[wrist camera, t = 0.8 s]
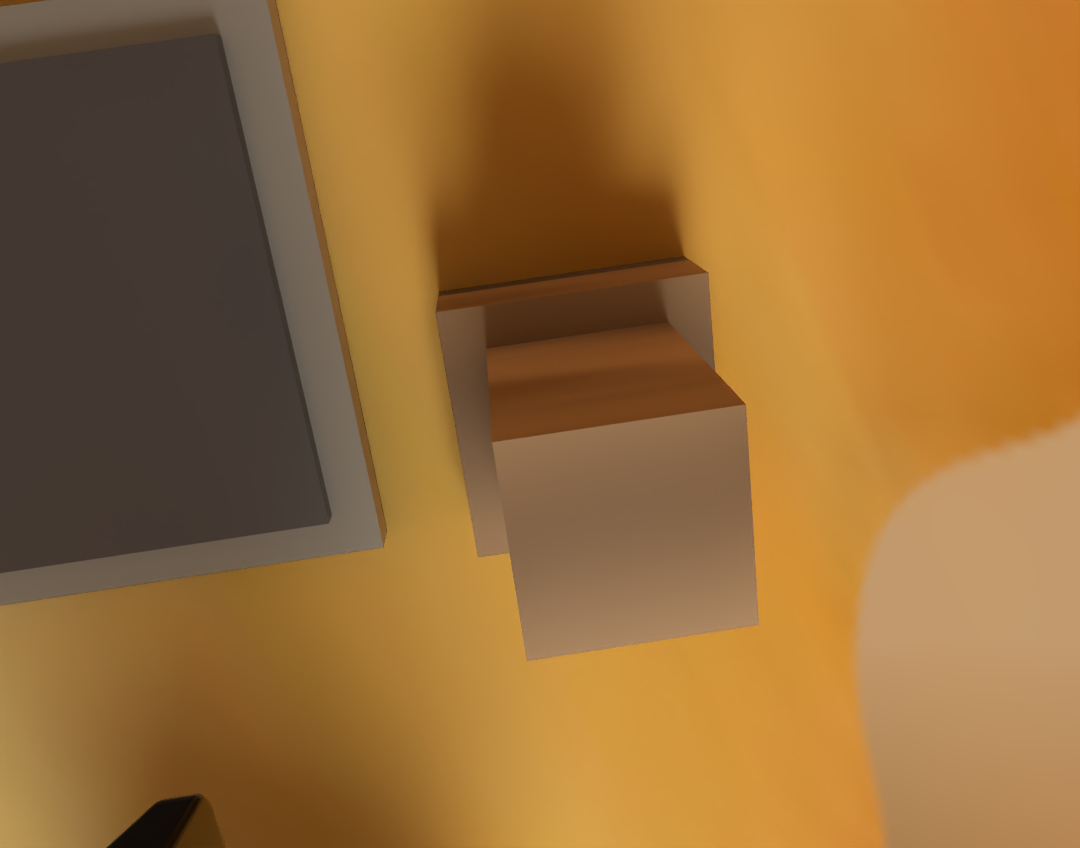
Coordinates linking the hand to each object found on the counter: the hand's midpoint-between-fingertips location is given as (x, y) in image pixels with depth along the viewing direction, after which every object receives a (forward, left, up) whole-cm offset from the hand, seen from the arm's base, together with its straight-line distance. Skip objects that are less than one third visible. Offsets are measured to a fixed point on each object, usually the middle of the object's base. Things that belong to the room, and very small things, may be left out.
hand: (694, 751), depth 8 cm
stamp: (0, 0, -11) cm, 11 cm away
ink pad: (+3, +10, -11) cm, 15 cm away
